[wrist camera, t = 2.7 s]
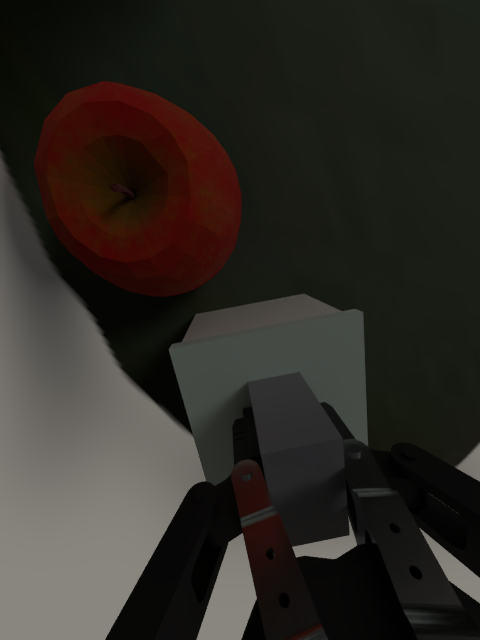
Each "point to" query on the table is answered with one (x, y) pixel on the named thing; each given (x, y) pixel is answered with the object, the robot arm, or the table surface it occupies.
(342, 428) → the robot arm
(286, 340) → the lid
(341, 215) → the table surface
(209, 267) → the apple
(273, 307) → the storage box
